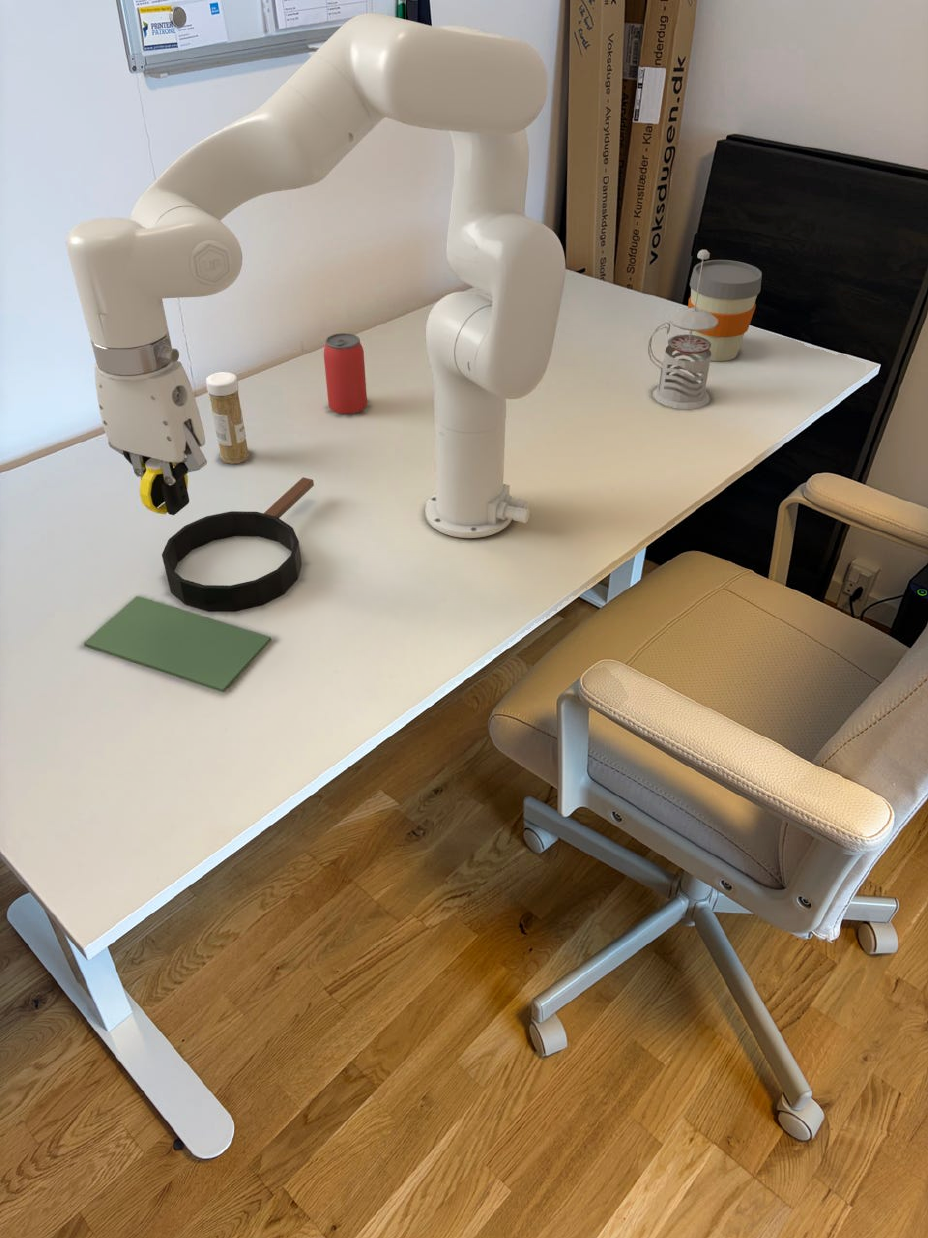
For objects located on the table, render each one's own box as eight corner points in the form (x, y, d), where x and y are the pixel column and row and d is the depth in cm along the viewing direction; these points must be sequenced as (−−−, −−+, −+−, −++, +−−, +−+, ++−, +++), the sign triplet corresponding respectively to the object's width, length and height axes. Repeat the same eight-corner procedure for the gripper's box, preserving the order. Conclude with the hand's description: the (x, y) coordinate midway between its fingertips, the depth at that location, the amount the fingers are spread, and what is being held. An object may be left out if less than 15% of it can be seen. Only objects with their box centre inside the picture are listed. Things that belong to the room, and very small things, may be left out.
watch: (178, 491, 110) (169, 446, 107) (196, 498, 109) (187, 452, 106) (140, 516, 106) (129, 470, 103) (159, 523, 105) (148, 477, 102)
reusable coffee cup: (666, 344, 183) (678, 265, 173) (720, 333, 187) (734, 255, 177) (705, 370, 174) (720, 288, 164) (761, 357, 178) (778, 277, 169)
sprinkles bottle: (254, 459, 149) (241, 379, 140) (226, 467, 147) (212, 387, 138) (242, 447, 152) (229, 368, 143) (215, 455, 150) (200, 375, 141)
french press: (705, 412, 161) (732, 263, 145) (637, 402, 164) (656, 255, 148) (713, 388, 168) (739, 243, 152) (647, 378, 171) (667, 235, 155)
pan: (254, 626, 118) (249, 601, 115) (141, 591, 123) (134, 567, 121) (362, 511, 138) (360, 489, 135) (260, 486, 143) (257, 464, 140)
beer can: (321, 412, 161) (314, 344, 153) (340, 395, 166) (334, 328, 158) (356, 419, 159) (351, 350, 152) (374, 402, 164) (369, 335, 156)
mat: (271, 640, 116) (270, 637, 115) (223, 692, 109) (223, 689, 108) (137, 598, 122) (137, 595, 122) (84, 645, 115) (83, 642, 115)
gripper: (221, 350, 96) (247, 505, 108) (96, 324, 101) (134, 475, 113) (175, 380, 91) (208, 540, 103) (45, 351, 96) (91, 507, 108)
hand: (169, 504), depth 108 cm, fingers closed on watch, 2 cm apart
